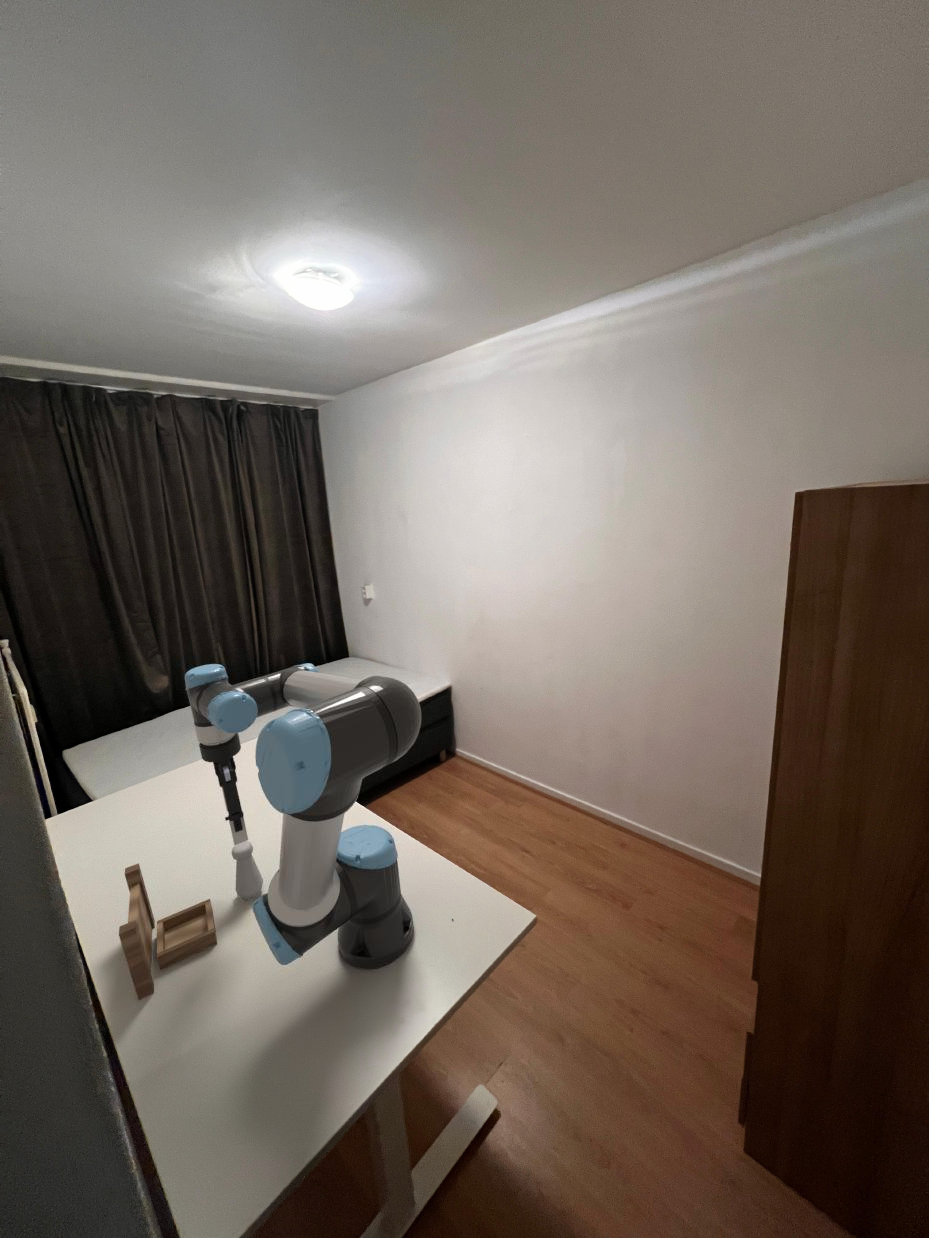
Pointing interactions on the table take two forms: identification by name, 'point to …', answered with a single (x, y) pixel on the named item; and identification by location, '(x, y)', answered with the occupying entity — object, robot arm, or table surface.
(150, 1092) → the table surface
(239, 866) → the salt shaker
